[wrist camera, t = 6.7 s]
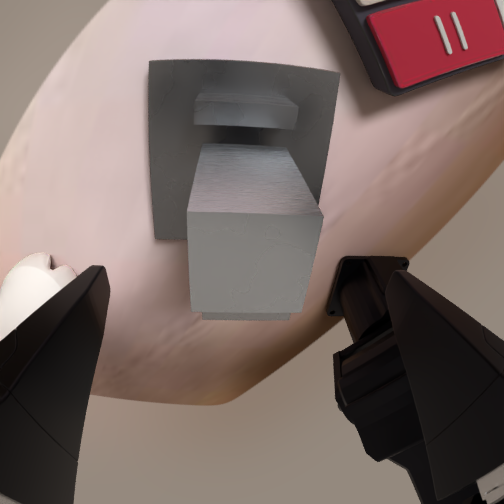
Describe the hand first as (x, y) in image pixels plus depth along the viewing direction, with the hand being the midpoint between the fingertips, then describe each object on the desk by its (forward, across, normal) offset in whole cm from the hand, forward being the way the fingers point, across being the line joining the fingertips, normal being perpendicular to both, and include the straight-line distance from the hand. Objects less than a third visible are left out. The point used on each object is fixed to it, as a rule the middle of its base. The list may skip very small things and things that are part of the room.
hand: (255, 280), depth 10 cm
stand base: (+13, 0, 0) cm, 13 cm away
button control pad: (+14, -12, -14) cm, 23 cm away
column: (+8, 0, 0) cm, 8 cm away
